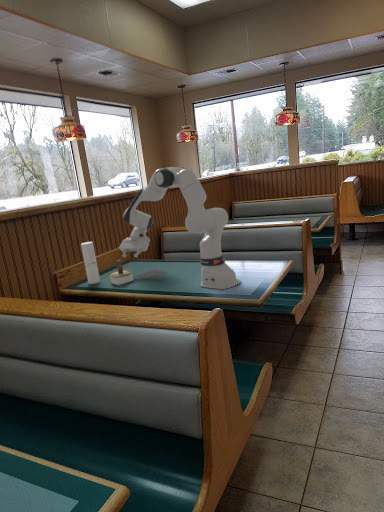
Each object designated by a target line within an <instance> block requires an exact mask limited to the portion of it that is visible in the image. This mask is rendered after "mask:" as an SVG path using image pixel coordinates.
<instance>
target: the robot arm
mask: <svg viewBox="0 0 384 512" xmlns="http://www.w3.org/2000/svg"><path fill="white" fill-rule="evenodd" d="M168 188H169V189H171V188H173V189H175V188H179V190H180V191H181V194H182V196H183V198H184V200H185V202H186V206H187V215H186V217H185V220H184V225H185V228H186V230H187V231H188V232H189V233H190V234H201V233H204V236H203V237H202V238H201V240H200V242H199V252H200V258H199V259H200V264H201V270H200V274H201V275H200V280H201V281H200V284H199V285H200V287H201V288H209V289H217V290H227V289H230V287H231V288H234V287H236V286H238V285H240V284H241V283H242V280H241V279H238V278H237V275H236V272H235V271H234V269H233V268H231V267H230V266H229V265H228V264H227V263H226V257H224V256H223V254H222V241H221V240H222V234H223V231H224V228H225V226H226V225H227V223H228V222H229V214H228V212H227V210H225V208H222V207H212V208H207V209H206V208H205V206H204V204H205V202H206V200H207V193H206V191H205V189H204V188H203V186H202V184H201V182H200V180H199V177H198V176H197V175H196V174H195V172H194V171H193V170H192V169H190V168H187V167H179V166H178V167H177V166H175V167H174V166H169V167H162V168H158V169H156V170H155V171H154V172H153V174H152V176H151V177H150V180H149V182H148V184H147V186H145V187H142V188H140V189H139V190H138V192H137V193H136V195H135V196H134V197H133V199H132V201H131V203H130V204H129V206H128V207H127V208H126V209H125V210H124V212H123V216H122V220H123V221H124V223H125V224H128V225H131V226H133V229H132V231H131V234H130V236H129V237H125V238H124V239H123V240H122V241H121V243H120V244H119V247H118V248H119V250H120V251H121V252H122V255H121V256H122V257H123V258H126V257H127V254H126V253H127V252H136V253H134V254H133V257H134V258H138V256H139V255H140V254H141V253H142V252H146V251H148V248H149V246H150V241H151V239H150V238H149V237H148V236H147V234H146V233H147V232H148V231H149V232H150V231H151V228H152V226H153V224H154V219H153V216H152V215H151V214H148V213H145V212H143V211H141V210H138V209H136V208H137V207H138V206H139V204H140V203H141V202H157V201H158V202H159V201H160V200H162V199H163V198H164V196H165V195H166V192H167V191H168ZM240 282H241V283H240ZM239 283H240V284H239ZM237 284H238V285H237ZM235 285H236V286H235ZM233 286H234V287H233ZM226 288H227V289H226Z"/></svg>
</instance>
